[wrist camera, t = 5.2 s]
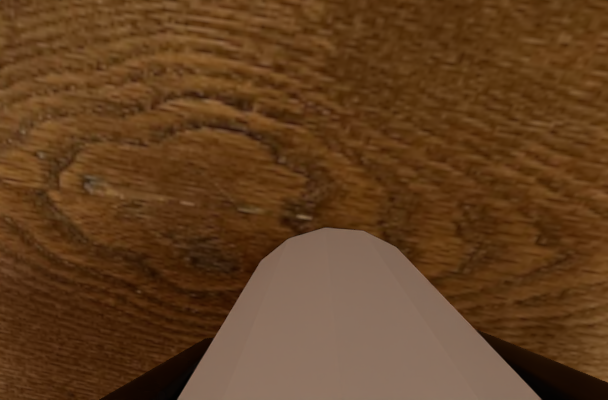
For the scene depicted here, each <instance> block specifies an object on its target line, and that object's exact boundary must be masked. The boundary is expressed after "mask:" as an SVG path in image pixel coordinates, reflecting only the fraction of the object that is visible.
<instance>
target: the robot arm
mask: <svg viewBox="0 0 608 400" xmlns="http://www.w3.org/2000/svg"><path fill="white" fill-rule="evenodd" d="M475 330H476V329H475ZM476 331H477V332H478V333H479V334H480V335H481V336H482V337H483V339H484V340H485V341H486V342H487V343H488V344H489V345H490V346H491V347H492V348H493V349H494V350H495V351H496V352H497V353H498V354H499V355H500V356H501V357H502V358H503V360H504V361H505V362H506V363H507V364H508V365H509V366H510V367H511V368H512V369H513V370H514V371H515V372H516V373H517V374H518V375H519V376H520V377H521V378H522V379H523V380H524V382H525V383H526V384H527V385H528V386H529V387H530V388H531V389H532V390H533V391H534V392H535V393H536V394H537V395H538V396H539V397H540V398H541V399H542V400H608V383H607V382H605V381H602V380H600V379H597V378H595V377H593V376H590V375H588V374H585V373H583V372H580V371H578V370H575V369H573V368H570V367H568V366H565V365H563V364H560V363H558V362H556V361H553V360H551V359H548V358H546V357H543V356H541V355H538V354H536V353H533V352H531V351H528V350H526V349H523V348H521V347H518V346H516V345H514V344H511V343H509V342H506V341H504V340H501V339H499V338H496V337H494V336H491V335H489V334H486V333H484V332H481V331H479V330H476ZM213 339H214V338H206V339H204V340H202V341H200V342H199V343H197V344H195V345H193V346H192V347H190V348H188V349H186V350H185V351H183V352H181V353H179V354H178V355H176V356H174V357H172V358H171V359H169V360H167V361H166V362H164V363H162V364H160V365H159V366H157V367H155V368H153V369H152V370H150V371H148V372H146V373H145V374H143V375H141V376H139V377H138V378H136V379H134V380H133V381H131V382H129V383H127V384H126V385H124V386H122V387H120V388H119V389H117V390H115V391H113V392H112V393H110V394H108V395H106V396H105V397H103V398H101V399H99V400H177V399H178V397H179V396H180V394H181V393H182V391H183V389H184V388H185V386H186V384H187V383H188V381H189V379H190V378H191V376H192V374H193V373H194V371H195V369H196V368H197V366H198V364H199V363H200V361H201V359H202V358H203V356H204V354H205V353H206V351H207V349H208V348H209V346H210V344H211V343H212V341H213Z"/></svg>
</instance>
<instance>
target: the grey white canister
mask: <svg viewBox="0 0 608 400" xmlns="http://www.w3.org/2000/svg"><path fill="white" fill-rule="evenodd" d="M177 400H542V399H541V398H540V397H539V396H538V395H537V394H536V393H535V392H534V391H533V390H532V389H531V388H530V387H529V386H528V385H527V384H526V383H525V382H524V380H523V379H522V378H521V377H520V376H519V375H518V374H517V373H516V372H515V371H514V370H513V369H512V368H511V367H510V366H509V365H508V364H507V363H506V362H505V361H504V360H503V358H502V357H501V356H500V355H499V354H498V353H497V352H496V351H495V350H494V349H493V348H492V347H491V346H490V345H489V344H488V343H487V342H486V341H485V340H484V339H483V337H482V336H481V335H480V334H479V333H478V332H477V331H476V330H475V329H474V328H473V327H472V326H471V325H470V324H469V323H468V322H467V321H466V320H465V319H464V318H463V317H462V315H461V314H460V313H459V312H458V311H457V310H456V309H455V308H454V307H453V306H452V305H451V304H450V303H449V302H448V301H447V300H446V299H445V298H444V297H443V296H442V295H441V293H440V292H439V291H438V290H437V289H436V288H435V287H434V286H433V285H432V284H431V283H430V282H429V281H428V280H427V279H426V278H425V277H424V276H423V275H422V274H421V272H420V271H419V270H418V269H417V268H416V267H415V266H414V265H413V264H412V263H411V262H410V261H409V260H408V259H407V258H406V257H405V256H404V255H403V254H402V253H401V252H400V250H399V249H398V248H397V247H395V246H393V245H391V244H389V243H387V242H385V241H383V240H381V239H379V238H377V237H375V236H373V235H371V234H369V233H367V232H365V231H361V230H348V229H336V228H322V229H318V230H315V231H312V232H308V233H305V234H302V235H298V236H295V237H292V238H289V239H287V240H286V241H285V242H284V243H282V244H281V245H280V246H279V247H277V248H276V249H275V250H274V251H272V252H271V253H270V254H269V255H267V256H266V257H265V258H264V259H263V260H261V262H260V263H259V265H258V267H257V268H256V270H255V271H254V273H253V275H252V276H251V278H250V280H249V281H248V283H247V285H246V286H245V288H244V290H243V291H242V293H241V295H240V296H239V298H238V300H237V301H236V303H235V305H234V306H233V308H232V310H231V311H230V313H229V315H228V316H227V318H226V320H225V321H224V323H223V325H222V326H221V328H220V330H219V331H218V333H217V334H216V336H215V338H214V339H213V341H212V343H211V344H210V346H209V348H208V349H207V351H206V353H205V354H204V356H203V358H202V359H201V361H200V363H199V364H198V366H197V368H196V369H195V371H194V373H193V374H192V376H191V378H190V379H189V381H188V383H187V384H186V386H185V388H184V389H183V391H182V393H181V394H180V396H179V397H178V399H177Z"/></svg>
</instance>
